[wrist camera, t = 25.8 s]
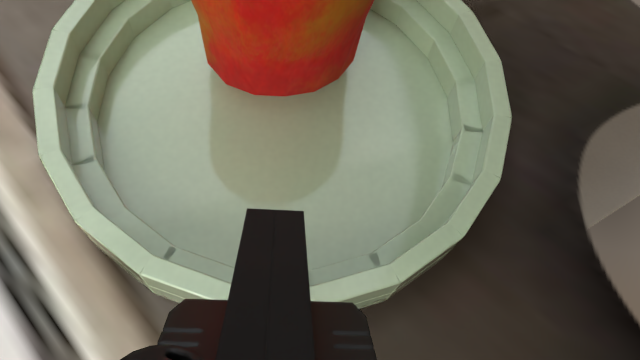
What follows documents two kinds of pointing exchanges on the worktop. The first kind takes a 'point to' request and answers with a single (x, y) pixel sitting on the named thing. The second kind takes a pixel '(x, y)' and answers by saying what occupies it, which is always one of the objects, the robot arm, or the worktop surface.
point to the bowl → (271, 146)
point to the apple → (280, 42)
